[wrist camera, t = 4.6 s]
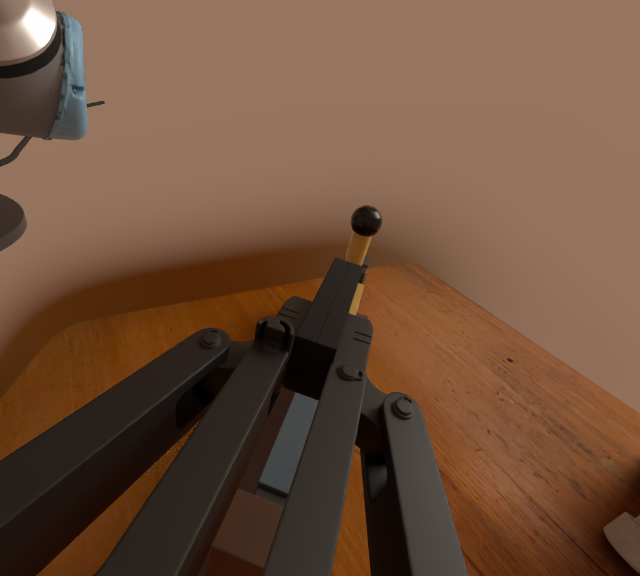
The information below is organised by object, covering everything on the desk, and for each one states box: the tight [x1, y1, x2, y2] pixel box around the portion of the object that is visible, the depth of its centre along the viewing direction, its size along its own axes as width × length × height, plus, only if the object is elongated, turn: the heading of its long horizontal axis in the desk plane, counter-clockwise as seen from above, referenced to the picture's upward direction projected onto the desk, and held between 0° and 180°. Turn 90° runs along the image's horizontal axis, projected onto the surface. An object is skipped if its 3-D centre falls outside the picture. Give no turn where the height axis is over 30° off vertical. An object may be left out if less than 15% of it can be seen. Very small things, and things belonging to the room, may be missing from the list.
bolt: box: [345, 205, 382, 266], centre depth 27 cm, size 7×2×10 cm, turn 165°
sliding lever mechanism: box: [198, 255, 370, 576], centre depth 27 cm, size 29×7×9 cm, turn 165°
